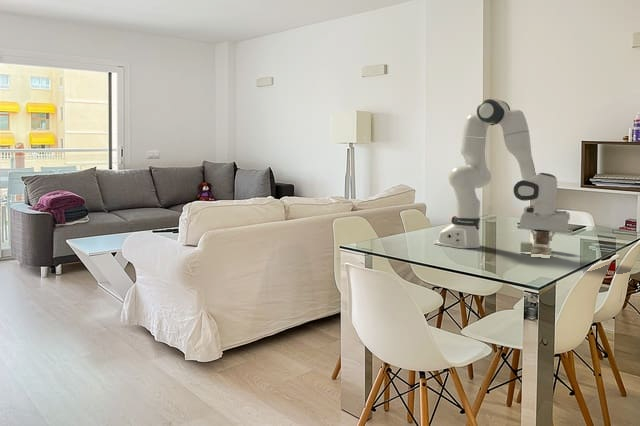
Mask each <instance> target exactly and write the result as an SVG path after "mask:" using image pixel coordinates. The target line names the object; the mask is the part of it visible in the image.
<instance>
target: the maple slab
mask: <svg viewBox="0 0 640 426" xmlns="http://www.w3.org/2000/svg"><path fill="white" fill-rule="evenodd" d="M552 249H553V248H552V247H550V248H546V247H536V246H533V247H532V248H531V254H543V255H550V254H551V255H552Z"/></svg>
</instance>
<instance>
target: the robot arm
mask: <svg viewBox="0 0 640 426" xmlns="http://www.w3.org/2000/svg"><path fill="white" fill-rule="evenodd" d="M495 125H500V127H501V129H502V135H503V140H504V144H505V147H506V149H507V151H508V152H509V153H510V154H511V155H512V156H513V157H515V159H516V161H517V162H518V166H519V171H520V175H521V180H519V181H517V182H516V183H515V185H514V186H513V195H514V197H515V198H516V199H517V200H520V201H525V202H527V201H534V205H529V206H525V207H524V208H523V213H522V215H520V216H521V217H520V220H519V227H520V229H527V230H530V233H531V232H532V234H533V239H536V235H535V234H534V231H535V229H536V230H547V231H550V232H551V236H549V239H548V241H550V242H551V241H553V237H554V236H555V235H556V232H562V233H566V232H568V231H569V220H570V219H571V218H570V216H571V214H570V213H569V212H567V211H566V210H558V209H557V208H556V207H557V201H556V197H557V195H558V180H557V179H558V178H557V177H556V176H555V175H553V174H552V173H547V172H540V173H538V174H537V173H536V170H535V164H534V160H533V155H532V146H531V138H530V129H529V126H528V123H527V118H526V117H525V114H524V112H523V110H522V111H521V110H520V109H511V107H510V106H509V104H508V103H507V102H506V101H503V100H500V99H498V98H496V99H495V98H494V99H492V98H489V99H485V100H483V101H480V103H478V106H477V108H476V113H471V114H469V115H467V117H466V118H465V121H464V124H463V129H462V130H463V131H462V137H461V147H460V153H461V155H462V156H463V158H464V162H465V165H462V166H461V165H460V166H457V167H455V168H453V169H451V170H450V172H449V173H448V183H449V184H450V185H451V187H452V188H453V190H454V194H455V199H456V201H455V202H456V204H455V205H456V207H455V208H456V209H455V215H453V216H452V217H451V219H450V220H451V222H450V224H449V225H447V226H445V227H444V228H442V229H441V230H440V231H439V234H438V238H437V239H434V240H433V244H434V245H438V246H442V247H443V246H444V247H448V248H449V247H450V248H456V249H479V248H481V243H480V242H481V241H480V228H481V218H480V212H481V201H480V200H479V198H478V197H477V193H476V189H481V188H484V187H486V186H488V185H489V184H490V182H491V180H492V174H491V171H490V170H489V169H488V166H487V162H486V160H487V159H486V144H487V143H486V142H487V133H488V129H489V127H490V126H495ZM556 209H557V210H556Z"/></svg>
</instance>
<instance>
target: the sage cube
mask: <svg viewBox="0 0 640 426" xmlns="http://www.w3.org/2000/svg"><path fill="white" fill-rule="evenodd" d="M518 245H519V246H518V252H519V251H520V252H531V248H532V246H533V244H532V243H531V242H530V241H519V244H518Z"/></svg>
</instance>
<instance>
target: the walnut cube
mask: <svg viewBox="0 0 640 426" xmlns="http://www.w3.org/2000/svg"><path fill="white" fill-rule="evenodd" d="M548 239H549V232H540V231H538V232H537V234H536V244H544V245H548V243H549V241H548Z"/></svg>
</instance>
